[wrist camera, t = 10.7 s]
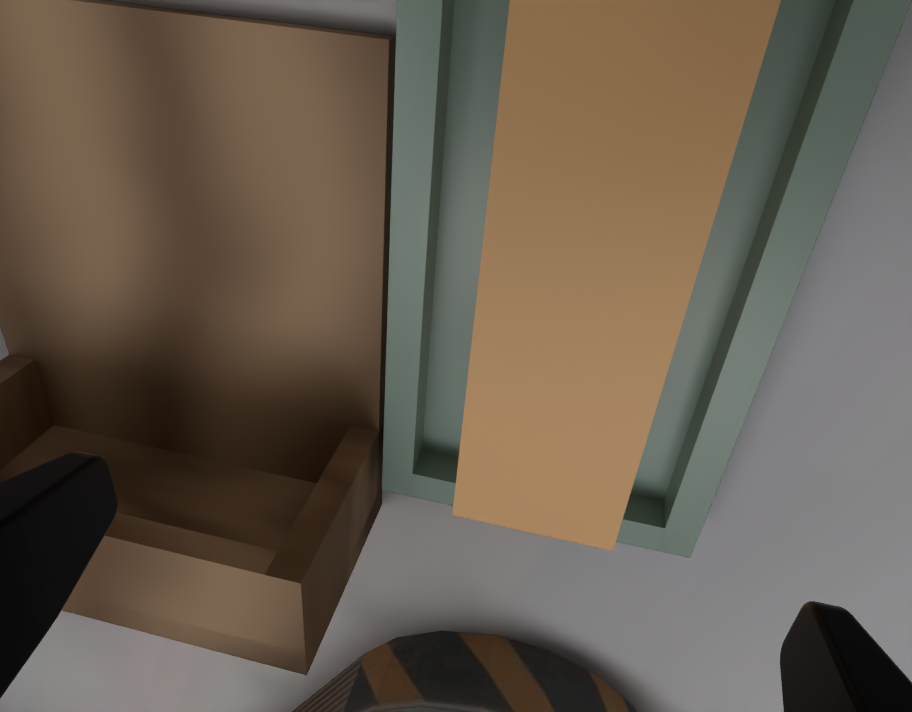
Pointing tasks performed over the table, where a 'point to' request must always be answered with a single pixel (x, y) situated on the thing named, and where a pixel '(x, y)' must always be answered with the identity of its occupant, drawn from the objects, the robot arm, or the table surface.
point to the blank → (594, 245)
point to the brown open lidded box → (200, 305)
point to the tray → (720, 273)
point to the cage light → (464, 679)
